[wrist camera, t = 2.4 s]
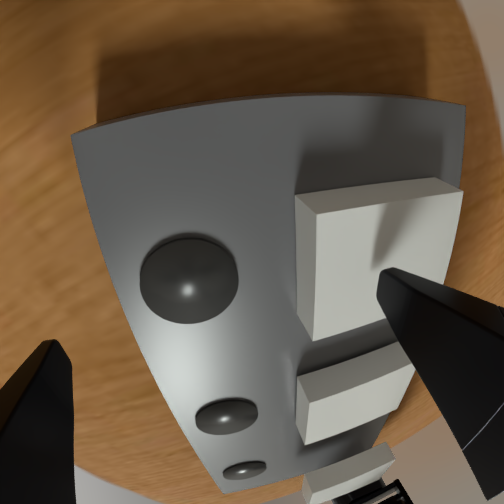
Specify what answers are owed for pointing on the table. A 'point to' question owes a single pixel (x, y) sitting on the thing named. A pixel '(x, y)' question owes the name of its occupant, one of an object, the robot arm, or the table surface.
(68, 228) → the table surface
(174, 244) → the control panel
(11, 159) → the table surface
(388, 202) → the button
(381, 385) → the middle button
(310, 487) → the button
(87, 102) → the table surface
